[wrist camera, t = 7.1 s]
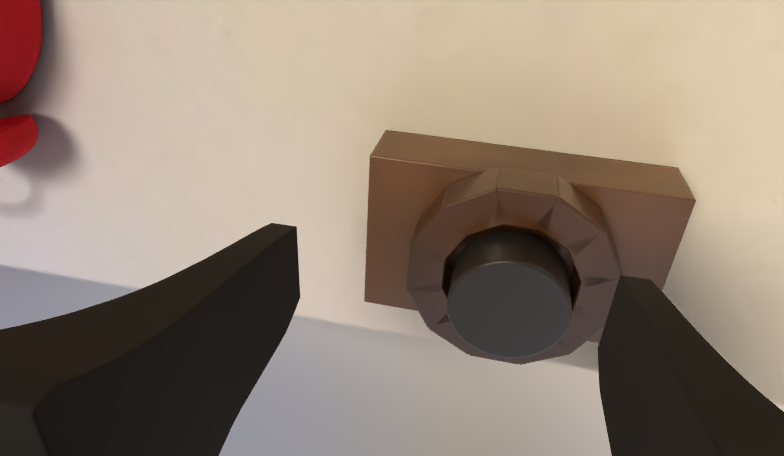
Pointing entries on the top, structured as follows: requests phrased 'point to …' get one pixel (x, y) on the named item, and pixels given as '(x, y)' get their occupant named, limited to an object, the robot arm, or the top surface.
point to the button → (510, 295)
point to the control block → (516, 223)
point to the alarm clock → (18, 72)
